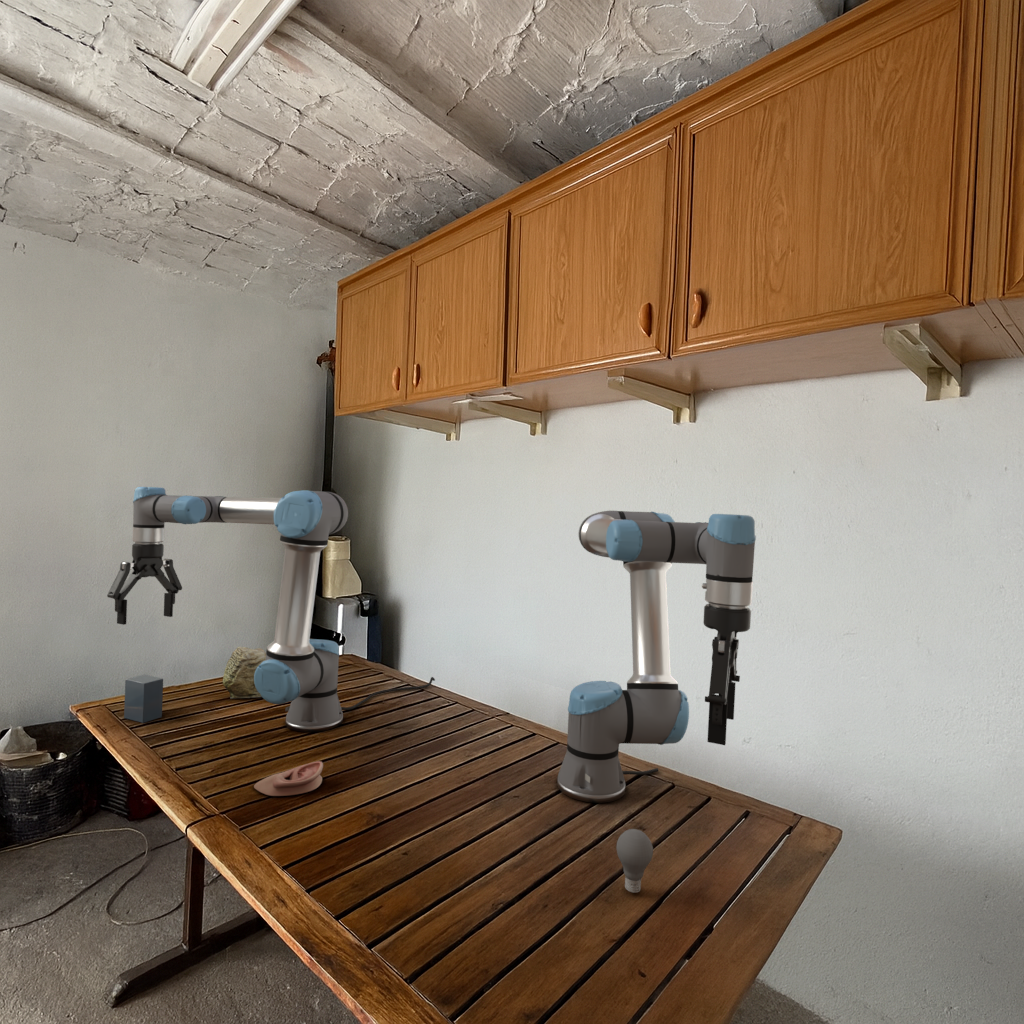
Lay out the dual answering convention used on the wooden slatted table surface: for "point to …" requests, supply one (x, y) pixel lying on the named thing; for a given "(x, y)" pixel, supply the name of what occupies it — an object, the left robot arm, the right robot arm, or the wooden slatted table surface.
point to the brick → (143, 698)
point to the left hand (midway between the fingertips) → (145, 620)
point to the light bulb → (634, 857)
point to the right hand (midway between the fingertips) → (721, 729)
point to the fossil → (243, 672)
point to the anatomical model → (292, 781)
